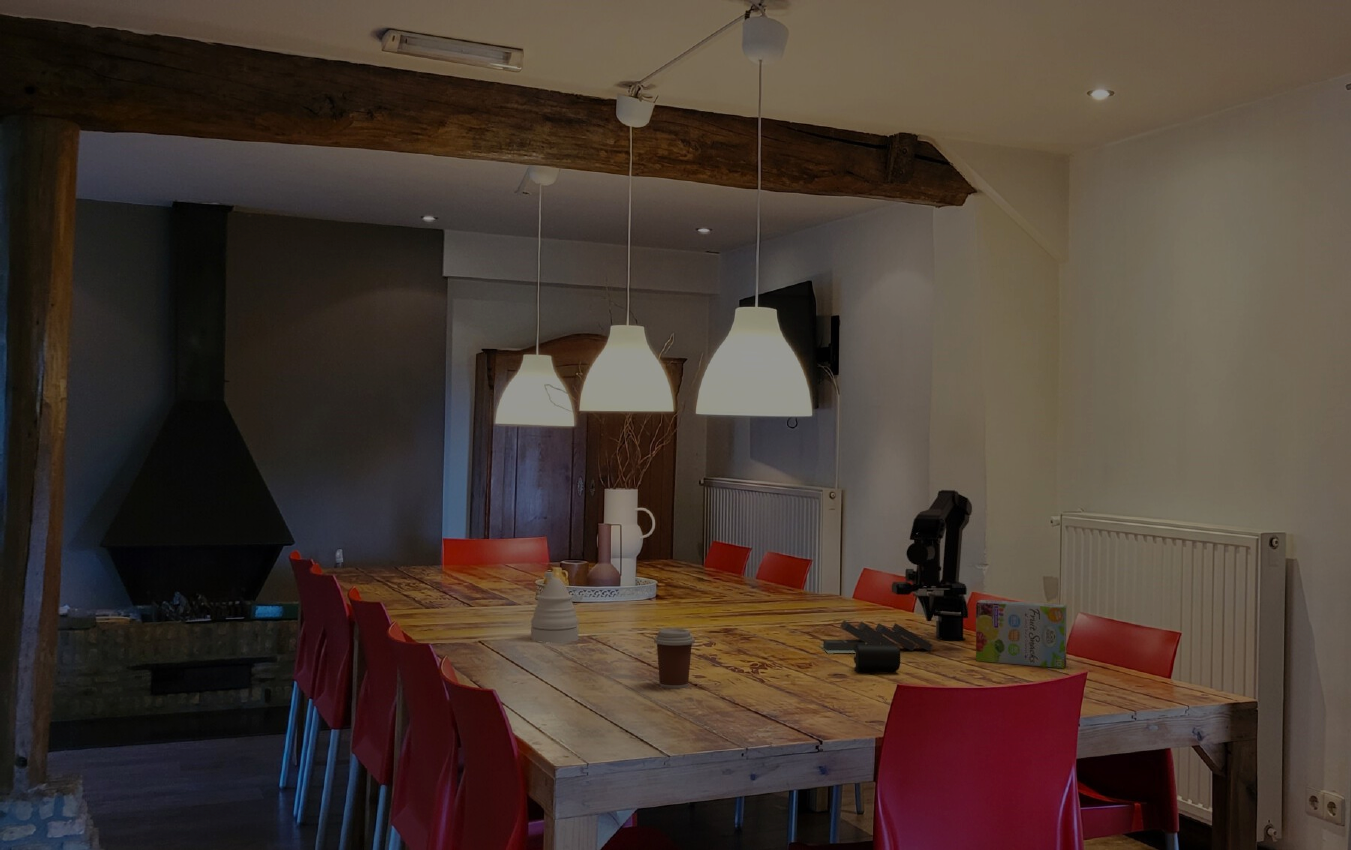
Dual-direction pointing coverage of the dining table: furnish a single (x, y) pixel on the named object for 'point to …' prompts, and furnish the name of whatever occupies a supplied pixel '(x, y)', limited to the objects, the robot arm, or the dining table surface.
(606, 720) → the dining table surface
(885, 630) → the domino
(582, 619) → the dining table surface
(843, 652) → the mat
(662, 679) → the coffee cup
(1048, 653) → the snack box
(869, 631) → the domino
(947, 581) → the robot arm
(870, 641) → the domino
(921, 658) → the dining table surface
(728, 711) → the dining table surface
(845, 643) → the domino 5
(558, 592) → the honey pot
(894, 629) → the domino
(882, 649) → the end cap
